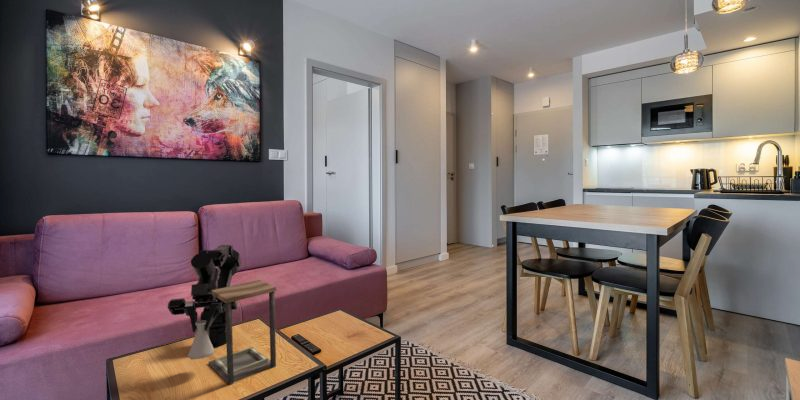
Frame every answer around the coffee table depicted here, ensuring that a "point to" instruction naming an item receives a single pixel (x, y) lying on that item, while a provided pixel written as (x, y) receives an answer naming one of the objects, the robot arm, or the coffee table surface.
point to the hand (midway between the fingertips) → (200, 331)
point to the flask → (201, 343)
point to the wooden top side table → (241, 361)
